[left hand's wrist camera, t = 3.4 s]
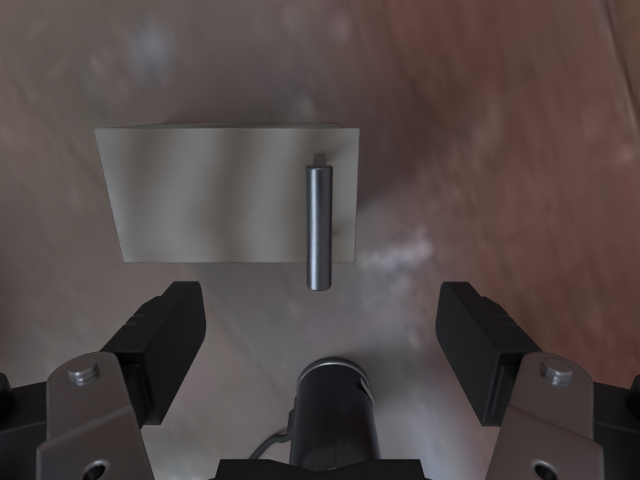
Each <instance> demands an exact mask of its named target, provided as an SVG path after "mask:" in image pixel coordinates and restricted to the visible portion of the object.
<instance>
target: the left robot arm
mask: <svg viewBox="0 0 640 480" xmlns="http://www.w3.org/2000/svg"><path fill="white" fill-rule="evenodd" d="M205 333H206V318H205V311H204V304H203V297H202V290H201V285H200V283H199V282H198V281H174V282H173V283H172V284H171V285H170V286H169V287H168V289H167V290H166V291H165V292H164V293H163V294H162V296H156V297H154V298H153V299H151V300H149V301H148V302H146V303H144V304H143V305H142V306H141V307H140V308H139V309H138V310H137V311H136V312H135V313H134V314H133V317H131V318H130V319H129V320H128V321H127V322H126V325H123V326H122V327H121V328H120V330H119V331H118V332H117V333H116V334H115V335H114V336H113V337H112V338H111V339H110V340H109V341H108V343H107V344H106V345H105V346H104V347H103V348H102V349H101V350H100V351H99V352H92V353H87V354H84V355H81V356H78V357H76V358H74V359H71V360H69V361H68V362H66V363H64V364H63V365H61V366H60V367H58V368H57V369H56V370H55V371H54V372H53V373H52V374H51V375H50V377H49V378H48V380H47V381H46V382H41V383H36V384H31V385H27V386H22V387H17V388H13V389H11V386H10V384H9V381H8V379H7V377H6V375H5V374H3V373H0V480H155V479H154V475H153V472H152V469H151V465H150V462H149V459H148V455H147V452H146V449H145V445H144V442H143V439H142V435H141V432H140V430H141V428H142V426H143V425H161V423H162V421H163V419H164V417H165V415H166V413H167V411H168V409H169V407H170V405H171V403H172V401H173V399H174V398H175V396H176V394H177V392H178V390H179V388H180V386H181V384H182V382H183V380H184V378H185V376H186V374H187V372H188V370H189V368H190V366H191V364H192V362H193V360H194V358H195V356H196V354H197V352H198V350H199V349H200V347H201V345H202V343H203V341H204V338H205ZM436 335H437V339H438V342H439V344H440V346H441V348H442V350H443V351H444V353H445V355H446V357H447V359H448V361H449V363H450V365H451V367H452V369H453V371H454V373H455V375H456V377H457V379H458V381H459V382H460V384H461V386H462V388H463V390H464V392H465V394H466V396H467V398H468V400H469V402H470V404H471V406H472V408H473V410H474V411H475V413H476V415H477V417H478V419H479V421H480V423H481V425H482V426H500V428H501V429H500V432H499V435H498V439H497V442H496V445H495V449H494V452H493V455H492V459H491V462H490V465H489V469H488V472H487V475H486V479H485V480H640V374H639V375H637V376H636V377H635V379H634V381H633V384H632V386H631V388H630V389H625V388H620V387H616V386H611V385H606V384H601V383H597V382H593V380H592V378H591V377H590V375H589V374H588V373H587V372H586V371H585V370H584V369H583V368H582V367H580V366H579V365H577V364H576V363H574V362H572V361H571V360H569V359H566V358H564V357H562V356H559V355H556V354H553V353H548V352H543V351H542V350H541V349H540V348H539V347H538V346H537V345H536V344H535V343H534V342H533V340H532V339H531V338H530V337H529V336H528V335H527V334H526V333H525V332H524V331H523V330H522V329H521V328H520V327H519V326H517V323H516V322H515V321H514V320H513V319H512V318H511V317H509V315H508V314H507V313H506V312H505V310H504V309H503V308H502V307H501V306H500V305H498V304H497V303H495V302H493V301H492V300H490V299H488V298H487V297H481V296H480V295H479V294H478V293H477V291H476V290H475V289H474V288H473V287H472V286H471V285H470V283H468V282H443V283H442V285H441V289H440V296H439V303H438V310H437V317H436ZM371 400H372V401H373V403H374V398H373V396H372V395H371V393H370V388H369V382H368V378H367V376H366V374H365V373H364V371H363V370H362V369H361V368H360V367H359V366H357V365H356V364H354V363H352V362H350V361H348V360H344V359H339V358H328V359H322V360H319V361H316V362H314V363H312V364H311V365H309V366H308V367H307V368H305V369H304V370H303V372H302V373H301V375H300V376H299V379H298V382H297V396H296V397H295V402H294V409H292V410H291V411H290V412H289V419H288V429H287V434H284V435H278V434H276V435H273V436H272V437H270V438H268V439H267V440H266V441H265V442H263V443H262V444H261V445H260V446H259V447H258V448H257V450H256V451H255V452H254V453H253V454H252V455H251V457H250V458H249V459H220V462H219V466H218V469H217V473H216V476H215V478H212V479H208V480H432V479H428V478H425V476H424V473H423V469H422V466H421V462H420V459H381V455H380V450H379V444H378V438H377V433H376V427H375V421H374V416H373V410H372V404H371ZM374 404H375V403H374ZM289 440H291V447H290V459H289V464H285V463H281V462H278V461H274V460H270V459H257V458H258V457H259V456H260V455H261V454H262V453H263V452H264V451H265V450H266V449H267V448H268V447H269V446H270V445H272V444H273V443H275V442H279V443H284V442H287V441H289Z"/></svg>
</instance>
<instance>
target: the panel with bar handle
mask: <svg viewBox="0 0 640 480" xmlns="http://www.w3.org/2000/svg"><path fill="white" fill-rule="evenodd" d="M94 131H95V136H96V140H97V145H98V149H99V154H100V158H101V162H102V167H103V171H104V176H105V180H106V185H107V189H108V194H109V198H110V203H111V207H112V212H113V216H114V221H115V225H116V230H117V234H118V238H119V243H120V247H121V252H122V256H123V261H124V263H127V262H307V286H308V288H309V289H311V290H314V291H324V290H327V289H329V288H330V287H331V277H332V262H355V237H356V211H357V186H358V161H359V135H360V129H359V128H95V129H94Z"/></svg>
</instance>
